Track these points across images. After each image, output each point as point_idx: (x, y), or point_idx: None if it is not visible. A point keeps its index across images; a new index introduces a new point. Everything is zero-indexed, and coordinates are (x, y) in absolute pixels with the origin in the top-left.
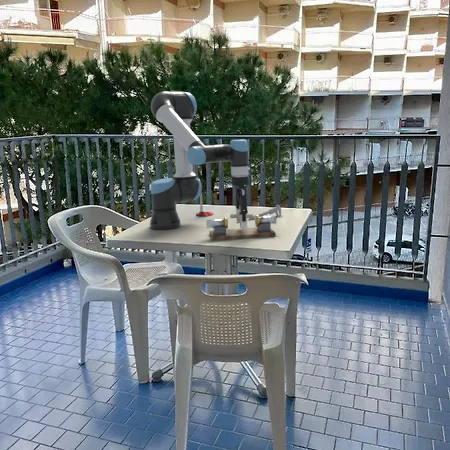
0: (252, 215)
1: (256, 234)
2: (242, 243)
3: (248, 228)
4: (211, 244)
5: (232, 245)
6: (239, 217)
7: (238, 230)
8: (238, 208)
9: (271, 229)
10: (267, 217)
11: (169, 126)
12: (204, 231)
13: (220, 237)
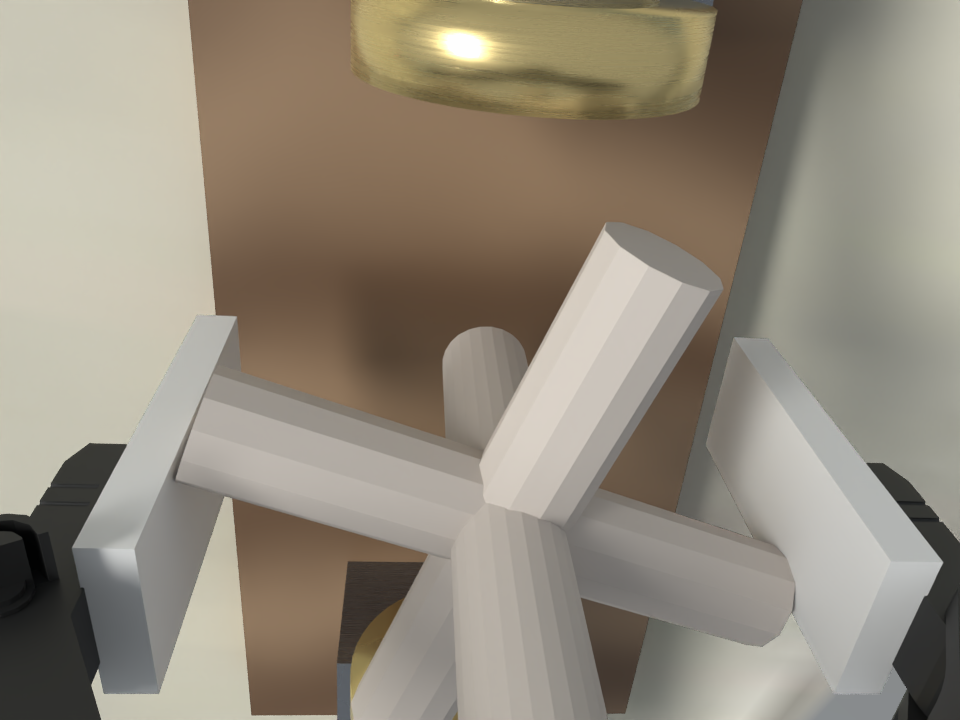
0: (718, 288)
1: (772, 107)
2: (941, 387)
3: (248, 143)
4: (762, 692)
5: (945, 513)
6: (769, 625)
7: (361, 360)
8: (90, 658)
9: None
10: None
11: None
12: (101, 711)
13: (643, 628)
